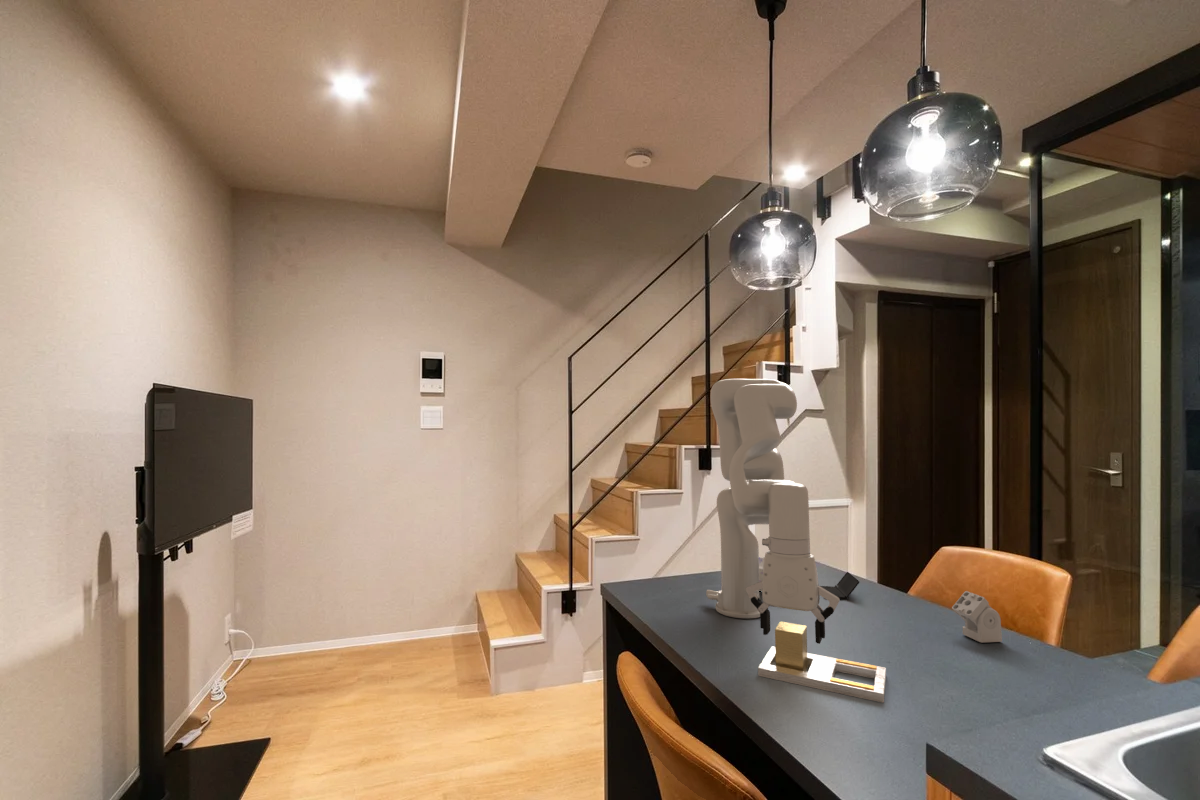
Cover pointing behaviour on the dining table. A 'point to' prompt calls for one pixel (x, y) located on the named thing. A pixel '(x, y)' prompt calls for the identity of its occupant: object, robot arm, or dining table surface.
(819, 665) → the white flat frame
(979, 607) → the mechanical component
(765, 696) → the dining table surface
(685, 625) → the dining table surface
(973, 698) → the dining table surface
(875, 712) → the dining table surface
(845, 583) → the handheld gaming console
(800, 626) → the brass block
